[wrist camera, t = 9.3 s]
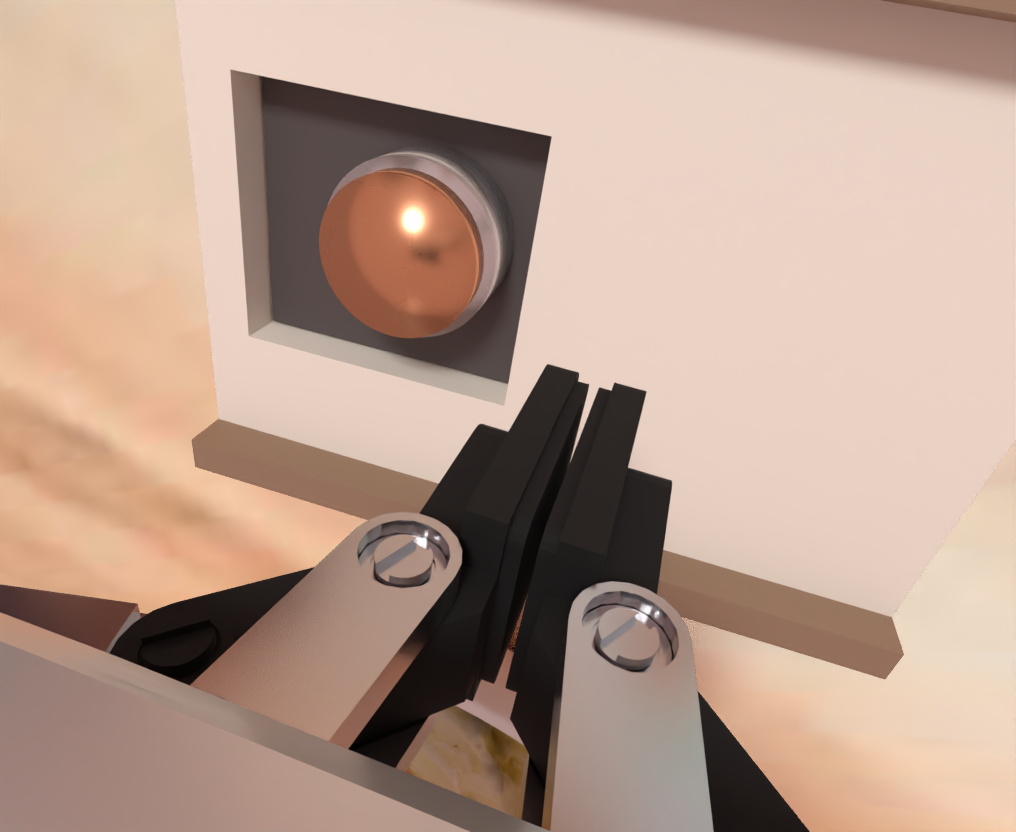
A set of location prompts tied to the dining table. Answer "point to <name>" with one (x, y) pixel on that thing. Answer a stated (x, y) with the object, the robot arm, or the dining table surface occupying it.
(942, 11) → the board
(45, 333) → the dining table surface
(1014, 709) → the dining table surface
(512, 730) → the bowl
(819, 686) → the dining table surface
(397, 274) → the puck
